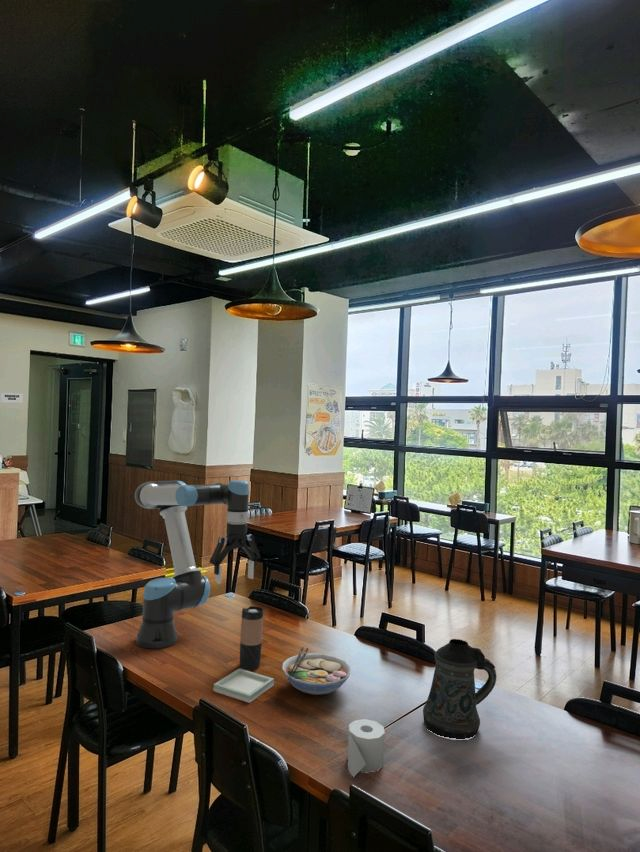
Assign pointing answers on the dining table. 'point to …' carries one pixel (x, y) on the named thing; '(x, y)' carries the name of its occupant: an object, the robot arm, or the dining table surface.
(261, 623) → the travel mug
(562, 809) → the dining table surface
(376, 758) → the toilet tissue
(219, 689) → the square plate
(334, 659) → the ramen bowl
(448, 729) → the beer stein
